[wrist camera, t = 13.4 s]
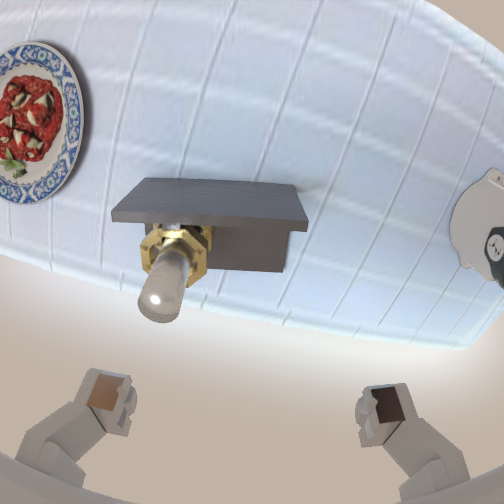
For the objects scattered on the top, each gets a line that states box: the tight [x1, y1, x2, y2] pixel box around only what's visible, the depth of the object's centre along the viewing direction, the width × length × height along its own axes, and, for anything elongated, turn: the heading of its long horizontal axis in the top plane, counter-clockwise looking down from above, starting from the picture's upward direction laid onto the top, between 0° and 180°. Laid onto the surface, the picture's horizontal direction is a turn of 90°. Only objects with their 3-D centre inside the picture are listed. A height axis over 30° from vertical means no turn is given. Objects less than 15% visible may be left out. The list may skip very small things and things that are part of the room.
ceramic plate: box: [0, 42, 84, 205], centre depth 34 cm, size 26×26×3 cm
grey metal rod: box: [138, 225, 201, 323], centre depth 35 cm, size 4×4×17 cm
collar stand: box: [111, 178, 309, 288], centre depth 39 cm, size 20×13×12 cm, turn 86°
